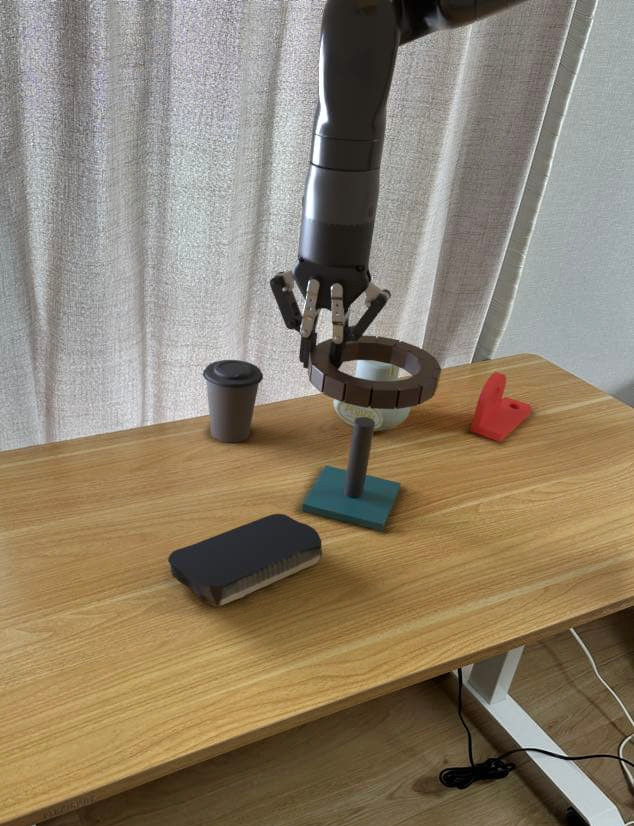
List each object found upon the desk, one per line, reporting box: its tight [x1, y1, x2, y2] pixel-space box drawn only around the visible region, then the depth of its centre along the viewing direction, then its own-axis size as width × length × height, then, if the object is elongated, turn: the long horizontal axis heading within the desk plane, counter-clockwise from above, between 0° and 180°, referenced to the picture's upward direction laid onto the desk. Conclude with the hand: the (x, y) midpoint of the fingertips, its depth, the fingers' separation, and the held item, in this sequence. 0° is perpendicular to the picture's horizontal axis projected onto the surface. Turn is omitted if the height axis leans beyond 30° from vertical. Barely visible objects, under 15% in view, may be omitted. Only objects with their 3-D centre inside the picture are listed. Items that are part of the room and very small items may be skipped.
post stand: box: [301, 417, 402, 532], centre depth 97 cm, size 10×10×11 cm
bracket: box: [469, 371, 533, 443], centre depth 117 cm, size 12×4×8 cm, turn 141°
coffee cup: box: [202, 359, 264, 443], centre depth 110 cm, size 8×8×10 cm
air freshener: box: [333, 360, 411, 432], centre depth 114 cm, size 11×8×10 cm
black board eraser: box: [167, 513, 323, 607], centre depth 87 cm, size 16×8×4 cm, turn 126°
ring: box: [306, 334, 442, 409], centre depth 90 cm, size 14×14×2 cm
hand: (320, 367), depth 92 cm, fingers closed on ring, 2 cm apart
